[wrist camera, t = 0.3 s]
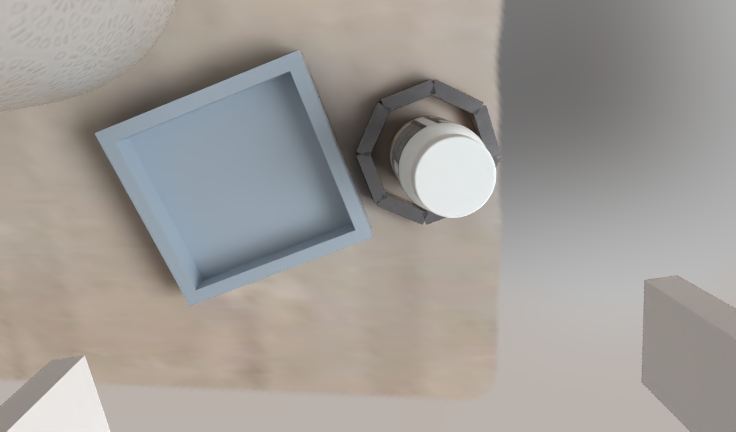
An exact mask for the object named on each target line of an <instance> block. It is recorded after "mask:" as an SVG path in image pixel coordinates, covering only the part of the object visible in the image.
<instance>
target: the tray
mask: <svg viewBox="0 0 736 432" xmlns="http://www.w3.org/2000/svg"><path fill="white" fill-rule="evenodd" d="M94 134H95V135H96V137H97V139H98V141H99V143H100V145H101V146H102V148H103V150H104V152H105V154H106V155H107V157H108V159H109V161H110V163H111V164H112V166H113V168H114V170H115V172H116V173H117V175H118V177H119V179H120V181H121V183H122V184H123V186H124V188H125V190H126V192H127V193H128V195H129V197H130V199H131V201H132V202H133V204H134V206H135V208H136V210H137V212H138V213H139V215H140V217H141V219H142V221H143V222H144V224H145V226H146V228H147V230H148V231H149V233H150V235H151V237H152V239H153V240H154V242H155V244H156V246H157V248H158V250H159V251H160V253H161V255H162V257H163V259H164V260H165V262H166V264H167V266H168V268H169V269H170V271H171V273H172V275H173V277H174V278H175V280H176V282H177V284H178V286H179V288H180V289H181V291H182V293H183V295H184V297H185V298H186V300H187V302H188V304H189V306H191V305H194V304H196V303H199V302H202V301H204V300H207V299H210V298H212V297H215V296H218V295H220V294H223V293H226V292H228V291H231V290H234V289H236V288H239V287H242V286H244V285H247V284H250V283H252V282H255V281H258V280H260V279H263V278H266V277H268V276H271V275H274V274H276V273H279V272H282V271H284V270H287V269H290V268H292V267H295V266H298V265H300V264H303V263H306V262H308V261H311V260H314V259H317V258H319V257H322V256H325V255H327V254H330V253H333V252H335V251H338V250H341V249H343V248H346V247H349V246H351V245H354V244H357V243H359V242H362V241H365V240H367V239H370V238H373V234H372V227H371V225H370V222H369V220H368V217H367V215H366V212H365V210H364V207H363V205H362V202H361V200H360V197H359V195H358V192H357V190H356V187H355V185H354V182H353V180H352V177H351V175H350V172H349V170H348V167H347V165H346V162H345V160H344V157H343V155H342V152H341V150H340V147H339V145H338V142H337V140H336V137H335V135H334V132H333V130H332V127H331V125H330V122H329V120H328V117H327V115H326V112H325V110H324V107H323V105H322V102H321V100H320V97H319V95H318V92H317V90H316V87H315V85H314V82H313V80H312V77H311V75H310V72H309V70H308V67H307V65H306V62H305V60H304V57H303V55H302V53H301V52H300V51H298V50H297V51H295V52H292V53H290V54H287V55H285V56H283V57H280V58H278V59H275V60H273V61H270V62H268V63H265V64H263V65H260V66H258V67H256V68H253V69H251V70H248V71H246V72H243V73H241V74H238V75H236V76H233V77H231V78H229V79H226V80H224V81H221V82H219V83H216V84H214V85H211V86H209V87H207V88H204V89H202V90H199V91H197V92H194V93H192V94H189V95H187V96H184V97H182V98H180V99H177V100H175V101H172V102H170V103H167V104H165V105H162V106H160V107H157V108H155V109H153V110H150V111H148V112H145V113H143V114H140V115H138V116H135V117H133V118H131V119H128V120H126V121H123V122H121V123H118V124H116V125H113V126H111V127H108V128H106V129H104V130H101V131H99V132H96V133H94Z"/></svg>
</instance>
